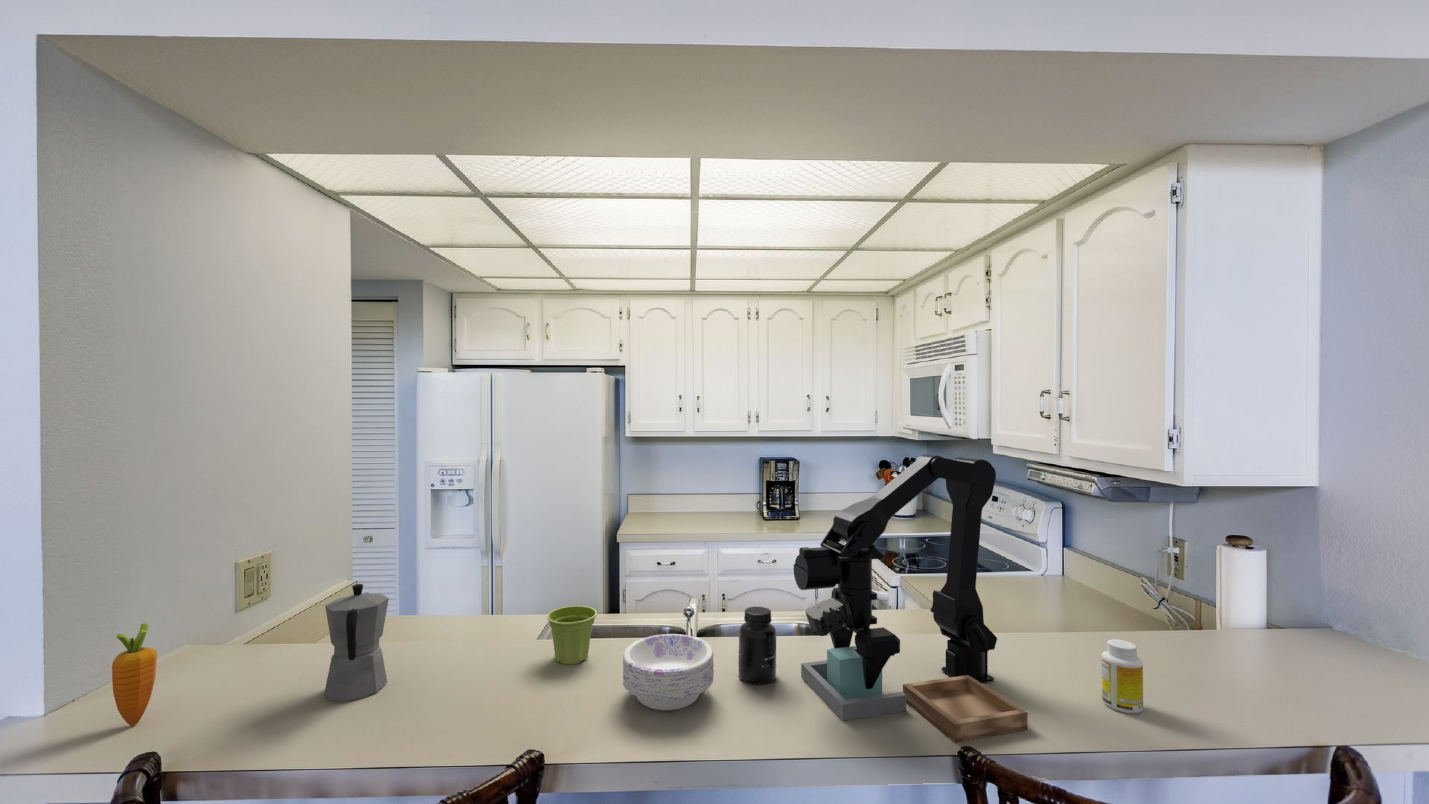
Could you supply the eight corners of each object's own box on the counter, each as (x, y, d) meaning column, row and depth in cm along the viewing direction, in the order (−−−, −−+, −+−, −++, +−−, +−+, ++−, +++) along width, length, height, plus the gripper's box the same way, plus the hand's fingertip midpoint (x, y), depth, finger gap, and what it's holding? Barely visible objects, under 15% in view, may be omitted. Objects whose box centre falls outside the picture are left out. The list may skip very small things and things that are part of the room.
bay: (857, 669, 109) (857, 656, 109) (906, 710, 94) (906, 695, 94) (801, 677, 106) (801, 663, 106) (842, 720, 91) (842, 704, 91)
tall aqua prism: (872, 683, 104) (872, 644, 104) (886, 695, 99) (886, 654, 99) (827, 690, 101) (827, 649, 101) (839, 702, 97) (839, 660, 97)
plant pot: (597, 666, 110) (597, 620, 110) (545, 671, 108) (545, 624, 108) (595, 646, 119) (596, 604, 119) (547, 651, 117) (548, 607, 117)
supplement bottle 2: (1150, 710, 94) (1150, 647, 95) (1130, 718, 92) (1130, 653, 92) (1114, 695, 100) (1114, 635, 100) (1094, 702, 97) (1094, 640, 97)
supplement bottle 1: (774, 687, 102) (774, 618, 102) (735, 683, 103) (735, 615, 103) (777, 670, 109) (778, 605, 109) (741, 667, 110) (741, 603, 110)
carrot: (115, 738, 85) (117, 634, 86) (105, 728, 88) (107, 628, 88) (161, 723, 90) (162, 624, 90) (150, 714, 92) (151, 618, 92)
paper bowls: (622, 725, 90) (622, 672, 90) (622, 679, 105) (623, 635, 105) (720, 717, 92) (720, 666, 92) (707, 674, 107) (707, 630, 107)
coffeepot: (330, 678, 105) (331, 577, 105) (390, 668, 109) (391, 571, 109) (314, 720, 91) (315, 603, 91) (383, 706, 95) (385, 595, 95)
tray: (968, 690, 101) (968, 674, 101) (1027, 729, 89) (1027, 712, 89) (902, 700, 98) (902, 684, 98) (955, 742, 85) (955, 724, 85)
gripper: (789, 573, 107) (789, 659, 107) (838, 606, 89) (838, 709, 89) (844, 569, 110) (844, 652, 110) (902, 600, 92) (902, 699, 92)
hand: (854, 676), depth 100 cm, fingers open, 9 cm apart
